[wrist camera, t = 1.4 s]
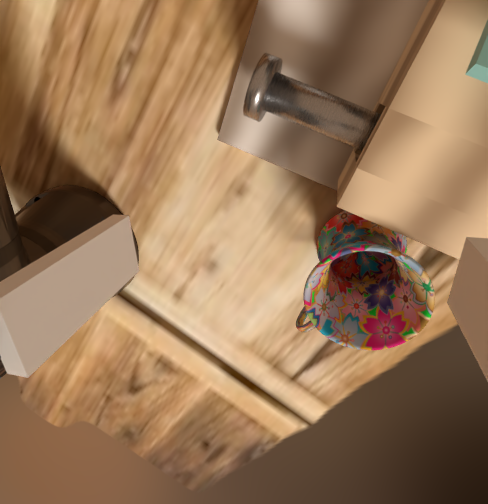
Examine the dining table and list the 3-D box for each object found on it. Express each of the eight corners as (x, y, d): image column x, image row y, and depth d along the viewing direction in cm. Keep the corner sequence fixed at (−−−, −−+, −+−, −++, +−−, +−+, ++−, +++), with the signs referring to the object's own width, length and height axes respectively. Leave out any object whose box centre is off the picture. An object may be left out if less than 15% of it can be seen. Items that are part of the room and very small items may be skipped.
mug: (368, 180, 32) (378, 220, 23) (430, 249, 33) (464, 313, 24) (277, 253, 38) (255, 309, 28) (333, 310, 39) (330, 380, 30)
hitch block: (220, 138, 34) (183, 155, 26) (293, -104, 25) (269, -190, 17) (471, 245, 32) (513, 297, 24) (646, 28, 23) (803, 0, 15)
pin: (252, 113, 29) (237, 118, 25) (272, 54, 27) (259, 49, 23) (420, 183, 28) (433, 200, 24) (455, 128, 26) (476, 137, 22)
